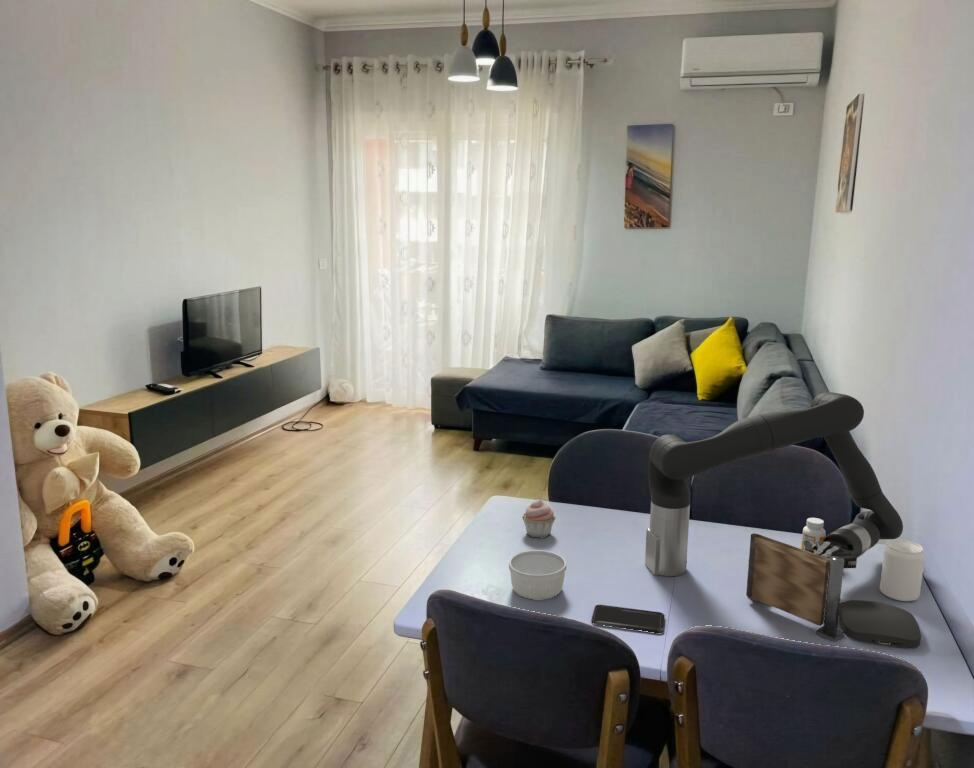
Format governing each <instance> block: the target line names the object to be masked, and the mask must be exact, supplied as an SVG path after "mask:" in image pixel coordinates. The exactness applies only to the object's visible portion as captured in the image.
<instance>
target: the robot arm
mask: <svg viewBox="0 0 974 768" xmlns="http://www.w3.org/2000/svg"><path fill="white" fill-rule="evenodd" d="M864 415H865V410H864V407H863V404H862V403H861V402H860V401H859V400H858V399H857V398H855V397H853V396H851V395H849V394H848V395H847V394H844V393H837V392H833V391H831V392H830V391H826V392H821V393H819V394H818V395H816V396H815V397H814V398H813V400H812V401H811V404H810V407H809V408H804V409H798V410H797V409H796V410H787V411H786V410H783V411H773V412H772V411H771V412H765V413H760V414H757V415H753V416H749V417H744V418H742V419H738V420H737V421H735V422H733V423H731V425H729V426H727V427H726V428H725V429H723V430H722V431H721V432H719V433H718V434H716V435H714V436H712V437H708V438H705V439H700V440H697V441H689V442H686V440H683V439H682V438H681V437H679V436H677V435H674V434H663V435H660V436H659V437H658V438H657V439H655V441H654V442H653V443H652V445H651V447H650V450H649V456H648V457H649V459H648V486H649V491H650V513H649V514H650V516H649V527H648V528H646V532H645V534H646V535H645V536H646V537H645V551H644V552H645V553H644V555H645V557H644V564H645V566H646V567H647V569H648V570H650V572H651V574H653V575H660V576H665V577H666V576H667V577H678V576H681V575H683V574H685V573H686V572H687V564H688V546H689V544H688V543H689V532H690V531H689V527H690V511H691V491H690V489H689V487H688V484H687V480H686V479H690V478H692V477H695V476H696V475H699V474H701V473H705V472H707V471H708V470H712V469H714V468H717V467H719V466H723V465H727V464H730V463H734V462H738V461H741V460H744V459H745V460H746V459H748V458H752V457H757V456H760V455H764V454H767V453H770V452H774V451H776V450H780V449H783V448H787V447H790V446H794V445H796V444H799V443H802V442H805V441H808V440H811V439H815V438H822V437H823V439H824V440H825V442H826V445H827V446H828V448H829V450H830V452H831V454H832V455H833V456H834V459H835V461H836V463H837V465H838V467H839V469H840V472H841V475H842V476H843V479H844V480H845V483H846V486H847V489H848V491H849V495H850V497H851V499H852V502H853V503H854V505H855V506H856V507H858V508H861V509H864V510H865V509H866V510H868V511H861V512H859V513H857V514H856V516H855V518H854V519H853V520H852V522H851V523H849V524H846V525H844V526H841V527H840V528H838V529H836V530H834V531H832V532H830V533H829V534H827V535H826V537H825V538H824V540H823V541H821V542H817V543H816V544H812V543H810V542H809V541H807V540H805V541H804V549H803V550H806V551H808V552H811V553H814V554H817V555H820V556H823V557H826V558H829V559H830V557H832V556H838V557H842V558H843V559H844V568H843V569H856V568H857V562H858V558H860V557H861V556H863V555H864V554H865V553H866V552H867V551H869V550H870V549H872V548H873V547H875V546H876V545H877V544H878V543H879V541H880V540H898V539H899V538H900V537H901V536H902V534H903V531H904V524H903V519H902V517H901V516H900V514H899V512H898V510H896V509H895V507H894V506H893V504H892V503H891V502H890V500H889V499H888V498H887V497H886V495H885V494H884V493H883V489H882V488H881V484H880V482H879V480H878V477H877V475H876V473H875V470H874V469H873V467H872V465H871V464H870V462H869V460H867V458H866V457H865V454H863V452H862V451H861V450H860V448H859V447H858V445H857V444H856V442H855V440H854V439H853V436H852V434H851V433H850V432H851V431H853V430H855V429H856V428H857V427H858V426H859V425H860V424H861V423H862V421H863V418H864ZM814 550H816V552H814Z"/></svg>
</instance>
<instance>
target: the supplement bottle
mask: <svg viewBox="0 0 974 768" xmlns="http://www.w3.org/2000/svg"><path fill="white" fill-rule="evenodd" d="M824 527H825V522H824V519H821V518H819V517H818V518H817V517H808V518H807V519H806V524H805V526H804V527H803V529H802V535H801V536H802V537H801V548H800V549H804V541H805V540H807V541H809V542H810V543H812V544H816V543H817V542H821V541H823V540H824V538H825V537H826V536H827V535H826V534H827V533H826V530H825V528H824ZM814 552H816V550H814Z"/></svg>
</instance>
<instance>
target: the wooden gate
mask: <svg viewBox="0 0 974 768" xmlns="http://www.w3.org/2000/svg"><path fill="white" fill-rule="evenodd" d="M748 553H749V555H748V565H747V567H748V568H747V581H746V593H745V594H746V597H747V598H748V597H750V598H749V599H751V598H754V599H756V600H758V601H761V602H762V604H763V603H764V604H766V605H768V606H770V607H773V608H775V609H778V610H780V611H783V612H785V613H788V614H790V615H793V616H795V617H798V618H799V619H802V620H805V621H806V622H809V623H812V624H814V625H816V626H819V627H822V626H823V625H824V615H825V605H826V595H827V586H828V576H829V566H830V559H829V558H826V557H823V556H820V555H817V554H814V553H811V552H808V551H806V550H803V549H801V548H799V547H798V546H797V547H796V546H793V545H791V544H787V543H785V542H781V541H778V540H776V539H773V538H771V537H768V536H766V535H765V536H764V535H761V534H760V533H755V532H754V533H753V532H752V533H751V534H750V543H749V552H748ZM756 600H755V601H756ZM758 601H757V602H758Z"/></svg>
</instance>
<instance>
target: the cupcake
mask: <svg viewBox="0 0 974 768" xmlns="http://www.w3.org/2000/svg"><path fill="white" fill-rule="evenodd" d="M554 514H555V513H554V510H553V509H552V508H551V507H550V505H549V504H548V503H546V502H544V501H542V499H541V498H538V499H536V500H534V501H532V502H531V504H529V506H527V508H526V510H525V512H524V513H523V515H522V517H521V518H522V521H523V523H524V526H525V531H526V534H527V535H528V536H529V535H530V536H529V537H531V536H533V537H532V538H535V537H543V538H546V537H545V536H547V537H548V535H549V534H551V532H552V528H553V525H554V523H555V521H556V518H557V517H556V516H555V515H554ZM549 536H550V535H549Z"/></svg>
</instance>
